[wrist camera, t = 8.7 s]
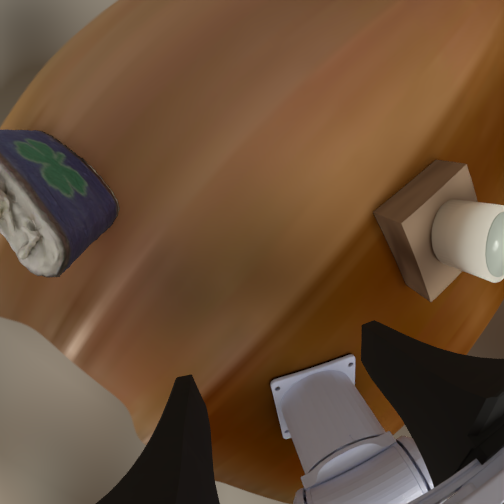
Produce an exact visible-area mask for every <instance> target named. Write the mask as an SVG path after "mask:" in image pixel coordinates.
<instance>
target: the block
mask: <svg viewBox="0 0 504 504" xmlns="http://www.w3.org/2000/svg"><path fill="white" fill-rule="evenodd" d="M454 199H455V200H465V201H473V202H477V198H476V194H475V191H474V187H473V184H472V180H471V177H470V174H469V171H468V167H467V164H463V163H456V162H449V161H442V160H435V161H434V162H433V163H432V164H430V165H429V166H428V167H427V168H426V169H425V170H423V171H422V172H421V173H420V174H419V175H417V176H416V177H415V178H414V179H413V180H412V181H410V182H409V183H408V184H407V185H405V186H404V187H403V188H402V189H401V190H399V191H398V192H397V193H396V194H395V195H393V196H392V197H391V198H390V199H388V200H387V201H386V202H385V203H384V204H382V205H381V206H380V207H379V208H377V209H376V210H375V211H374V212H373V214H374V216H375V218H376V220H377V222H378V224H379V226H380V228H381V230H382V232H383V234H384V236H385V238H386V240H387V242H388V245H389V247H390V249H391V251H392V253H393V256H394V258H395V260H396V262H397V265H398V267H399V269H400V272H401V274H402V276H403V279H404V281H405V283H406V285H407V286H409V287H410V288H412V289H413V290H414V291H416V292H417V293H419V294H420V295H421V296H423V297H424V298H426V299H427V300H428V301H430V302H432V301H433V300H434V299H435V298H436V297H437V296H438V295H439V294H440V293H441V292H442V291H443V290H444V289H445V288H446V287H447V286H448V285H449V284H450V283H451V282H452V281H453V280H454V279H455V278H456V277H457V276H458V275H459V274H460V273H461V272H462V270H459V269H456V268H454V267H451V266H448V265H445V264H443V263H442V262H440V261H439V260H438V258H437V257H436V255H435V253H434V250H433V247H432V227H433V222H434V219H435V216H436V214H437V212H438V210H439V209H440V207H441V206H442V205H443V204H444V203H446V202H447V201H449V200H454Z"/></svg>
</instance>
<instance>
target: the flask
mask: <svg viewBox="0 0 504 504" xmlns="http://www.w3.org/2000/svg"><path fill="white" fill-rule="evenodd" d="M118 212H119V205H118V201H117V199H116V198H115V196H114V194H113V192H112V190H111V189H110V188H109V186H107V184H106V183H105V182H104V181H103V179H102V177H101V176H100V175H98V174H97V173H96V171H95V170H94V169H93V168H92V166H90V165H88V164H87V163H86V161H85V160H84V159H82V158H80V157H79V156H78V155H76V154H75V153H74V152H73V151H72V150H70V149H69V148H68V147H67V146H65V145H63V144H62V143H61V142H60V141H58V140H57V139H55V138H54V137H53V136H51V135H49V134H46V133H44V132H41V131H36V130H34V131H29V130H0V233H1V234H2V235H3V236H4V237H5V238H6V239H7V241H8V242H9V244H10V246H11V248H12V250H14V251H15V252H16V255H17V257H18V259H19V261H20V262H21V263H22V264H23V265H24V266H25V267H26V268H27V269H28V270H29V271H30V272H31V273H33V274H35V275H37V276H41V275H42V276H44V277H60V275H61V274H62V273H63V272H64V271H65V270H66V269H67V268H69V267H70V265H71V264H72V263H73V262H74V261H75V260H76V259H77V258H78V257H79V256H80V255H81V254H82V253H83V252H84V251H85V250H86V248H87V247H88V246H89V245H90V244H91V243H92V242H94V241H95V240H97V239H98V237H99V236H100V235H101V234H102V233H104V232H105V231H106V230H107V229H108V228H109V227H110V226H111V225H112V224H113V222H114V220H115V218H116V217H117V216H118Z"/></svg>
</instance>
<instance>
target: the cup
mask: <svg viewBox="0 0 504 504" xmlns="http://www.w3.org/2000/svg"><path fill="white" fill-rule="evenodd" d="M432 247H433V250H434V253H435V255H436V257H437V258H438V260H439V261H440V262H442V263H443V264H445V265H448V266H451V267H454V268H456V269H459V270H462V271H464V272H467V273H470V274H472V275H475V276H478V277H480V278H483V279H485V280H488V281H490V282H494V283H496V282H499V281H501V280H502V279H504V205H497V204H489V203H481V202H473V201H465V200H455V199H454V200H449V201H447V202H446V203H444V204H443V205H442V206H441V207H440V209H439V210H438V212H437V214H436V216H435V219H434V222H433V227H432Z"/></svg>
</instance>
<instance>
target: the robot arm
mask: <svg viewBox="0 0 504 504" xmlns="http://www.w3.org/2000/svg"><path fill="white" fill-rule="evenodd" d="M361 361H362V363H363V365H364V367H365V368H366V370H367V372H368V374H369V375H370V377H371V379H372V380H373V381H374V383H375V384H376V385H377V387H378V388H379V389H380V391H381V392H382V393H383V394H384V396H385V397H386V398H387V400H388V401H389V402H390V403H391V405H392V406H393V407H394V409H395V410H396V411H397V413H398V414H399V416H400V417H401V418H402V420H403V422H404V424H405V425H406V427H407V429H408V431H409V432H410V434H411V436H412V438H411V437H406V436H400V437H399V438H397V439H396V440H395V438H394V437H393V435H392V434H391V433H390V431H388V432H385V430H384V429H383V427H382V426H381V424H380V423H379V421H378V420H377V418H376V417H375V415H374V414H373V412H372V411H371V409H370V408H369V406H368V405H367V403H366V402H365V400H364V399H363V397H362V396H361V394H360V393H359V391H358V390H357V388H356V387H355V357H354V355H352V354H350V355H347V356H344V357H341V358H339V359H336V360H333V361H330V362H327V363H324V364H321V365H318V366H315V367H312V368H309V369H306V370H303V371H300V372H297V373H293V374H290V375H287V376H283V377H280V378H277V379H274V380H272V381H271V383H270V385H271V389H272V393H273V397H274V402H275V406H276V410H277V414H278V418H279V422H280V427H281V431H282V435H283V438H284V439H289V438H292V440H293V443H294V446H295V448H296V451H297V453H298V456H299V459H300V461H301V464H302V467H303V469H304V472H305V474H306V475H304V476H302V477H301V480H302V483H303V486H304V488H302V489H299V490H298V491H297V492H296V496H295V498H294V501H293V504H502V503H503V502H504V359H492V358H480V357H473V356H467V355H462V354H457V353H454V352H450V351H446V350H443V349H440V348H436V347H434V346H431V345H428V344H426V343H423V342H420V341H418V340H416V339H413V338H411V337H409V336H407V335H404V334H402V333H400V332H398V331H396V330H394V329H392V328H390V327H387V326H385V325H383V324H381V323H379V322H377V321H371V322H369V323H366V324H363V325H362V345H361ZM349 363H350V364H349ZM276 387H278V388H276ZM454 493H455V494H454ZM453 494H454V495H453ZM452 495H453V496H452ZM450 496H451V497H450ZM449 497H450V498H449ZM447 498H449V499H447ZM96 504H220V503H219V499H218V494H217V490H216V485H215V480H214V472H213V460H212V446H211V432H210V424H209V418H208V413H207V408H206V405H205V403H204V401H203V399H202V397H201V394H200V392H199V390H198V388H197V386H196V383H195V381H194V379H193V377H192V375H187V376H182V377H177V378H176V380H175V383H174V386H173V388H172V391H171V394H170V397H169V399H168V402H167V404H166V407H165V409H164V411H163V414H162V416H161V418H160V421H159V423H158V425H157V427H156V429H155V431H154V433H153V435H152V437H151V438H150V440H149V442H148V444H147V445H146V447H145V449H144V450H143V452H142V453H141V455H140V456H139V458H138V459H137V461H136V462H135V464H134V465H133V466H132V468H131V469H130V470H129V471H128V473H127V474H126V475H125V476H124V477H123V478H122V479H121V481H120V482H119V483H118V484H117V485H116V486H115V487H114V488H113V489H112V490H111V491H110V492H109V493H108V494H107V495H106V496H104V497H103V498H102V499H101V500H100V501H99V502H97V503H96Z"/></svg>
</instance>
